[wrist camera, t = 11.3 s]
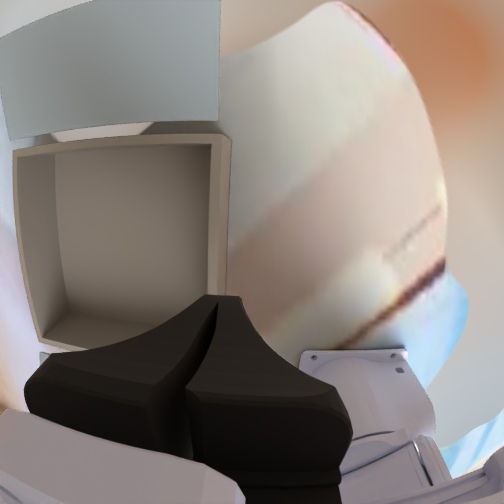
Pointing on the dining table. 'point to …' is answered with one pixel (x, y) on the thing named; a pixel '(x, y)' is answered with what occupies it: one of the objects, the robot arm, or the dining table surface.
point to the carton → (120, 232)
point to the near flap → (112, 66)
